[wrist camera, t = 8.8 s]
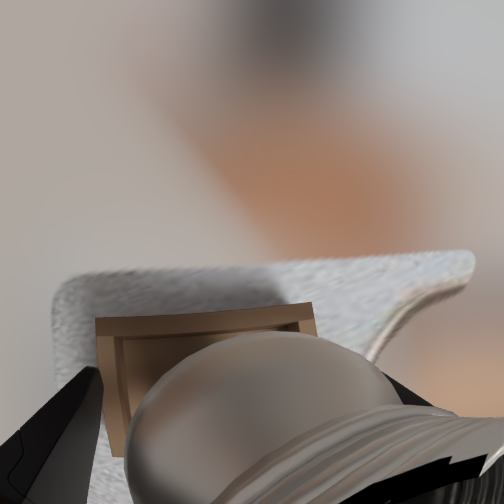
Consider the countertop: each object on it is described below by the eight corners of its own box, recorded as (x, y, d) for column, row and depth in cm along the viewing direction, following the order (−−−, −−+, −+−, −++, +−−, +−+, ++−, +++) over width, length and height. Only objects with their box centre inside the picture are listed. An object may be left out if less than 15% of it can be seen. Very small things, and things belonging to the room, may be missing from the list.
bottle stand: (310, 421, 20) (330, 429, 17) (123, 443, 16) (112, 456, 13) (294, 311, 23) (311, 301, 20) (109, 325, 19) (95, 317, 16)
